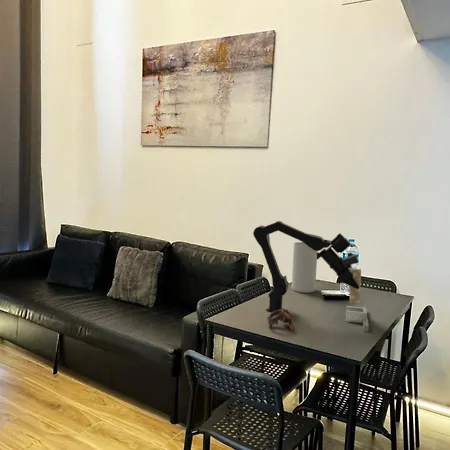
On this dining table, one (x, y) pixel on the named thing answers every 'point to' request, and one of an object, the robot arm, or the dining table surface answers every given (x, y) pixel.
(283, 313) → the brown curled piece
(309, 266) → the cylinder vase
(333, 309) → the dining table surface
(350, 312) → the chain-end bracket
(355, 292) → the beech pin
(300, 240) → the robot arm
